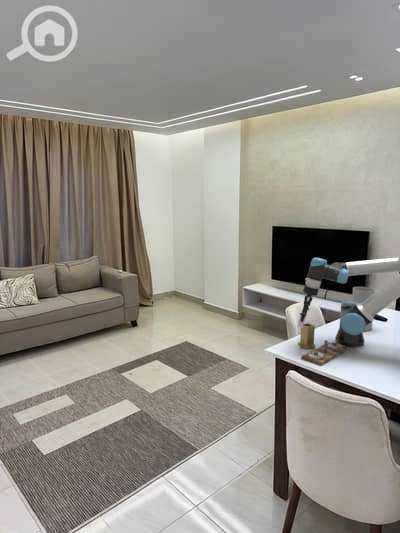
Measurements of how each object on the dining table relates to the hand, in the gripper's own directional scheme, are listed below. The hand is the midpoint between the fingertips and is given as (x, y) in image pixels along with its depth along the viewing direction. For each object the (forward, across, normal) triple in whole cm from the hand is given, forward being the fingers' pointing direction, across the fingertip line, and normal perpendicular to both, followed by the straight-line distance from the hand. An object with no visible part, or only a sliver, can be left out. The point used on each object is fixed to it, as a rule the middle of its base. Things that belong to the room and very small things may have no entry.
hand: (301, 323), depth 200 cm
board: (+10, +7, +16) cm, 20 cm away
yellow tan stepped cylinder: (+11, -1, +6) cm, 13 cm away
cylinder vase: (+3, -44, +35) cm, 56 cm away
